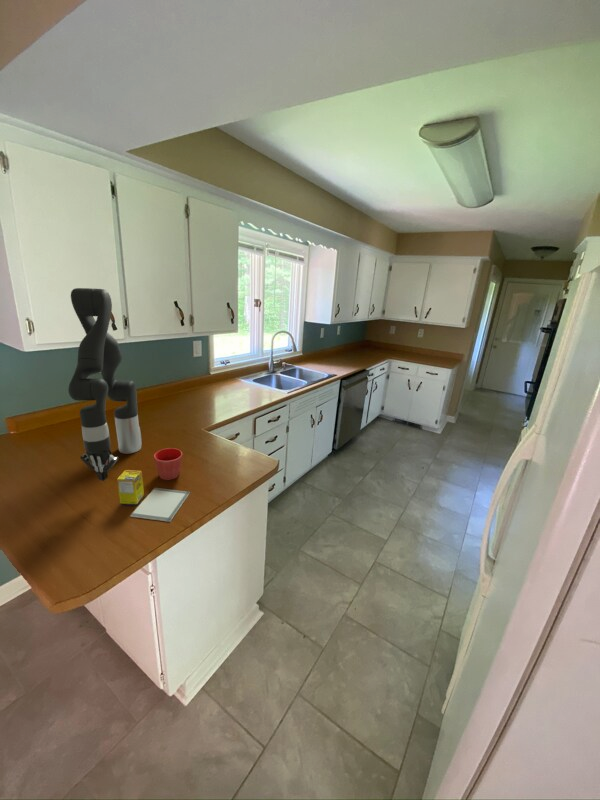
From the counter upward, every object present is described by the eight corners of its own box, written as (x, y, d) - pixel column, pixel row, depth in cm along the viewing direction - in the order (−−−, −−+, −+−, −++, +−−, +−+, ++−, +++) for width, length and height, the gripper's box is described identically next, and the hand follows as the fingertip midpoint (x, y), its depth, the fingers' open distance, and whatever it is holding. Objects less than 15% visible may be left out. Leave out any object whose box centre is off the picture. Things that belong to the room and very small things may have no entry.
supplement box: (144, 495, 117) (142, 470, 114) (137, 506, 112) (134, 479, 108) (128, 494, 117) (125, 469, 113) (120, 505, 111) (116, 478, 108)
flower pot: (184, 467, 137) (183, 447, 134) (181, 481, 127) (180, 460, 124) (158, 468, 135) (157, 448, 132) (153, 483, 125) (151, 461, 122)
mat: (154, 488, 122) (154, 487, 122) (190, 492, 121) (190, 491, 121) (130, 516, 107) (130, 515, 107) (170, 521, 106) (170, 520, 106)
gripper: (121, 433, 110) (127, 475, 116) (85, 428, 111) (92, 471, 116) (107, 442, 103) (113, 487, 109) (69, 438, 104) (77, 483, 109)
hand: (103, 479), depth 112 cm, fingers closed
